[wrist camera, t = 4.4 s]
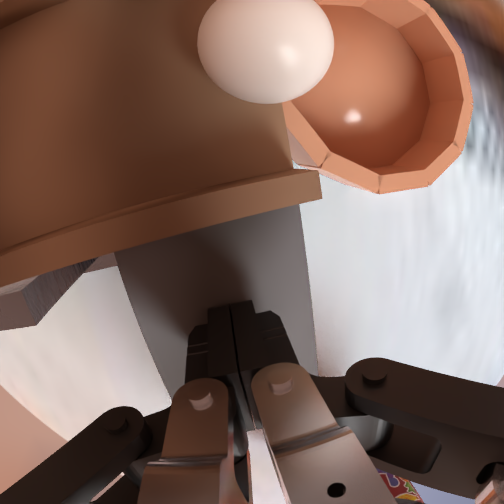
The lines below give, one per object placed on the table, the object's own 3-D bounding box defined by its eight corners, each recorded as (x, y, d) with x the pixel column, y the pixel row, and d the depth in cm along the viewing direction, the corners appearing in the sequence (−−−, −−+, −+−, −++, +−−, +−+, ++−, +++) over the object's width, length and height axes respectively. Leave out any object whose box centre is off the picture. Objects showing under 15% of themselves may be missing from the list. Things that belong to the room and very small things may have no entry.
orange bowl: (410, 7, 13) (442, -10, 9) (442, 171, 16) (480, 178, 13) (234, 0, 12) (240, -33, 9) (273, 197, 16) (289, 210, 12)
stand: (101, 10, 11) (38, -63, 4) (145, 254, 16) (96, 340, 8) (13, 52, 11) (-74, 21, 3) (54, 276, 15) (-22, 352, 8)
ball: (183, -33, 4) (193, 22, 8) (207, 102, 5) (211, 120, 9) (335, -40, 4) (299, 11, 8) (371, 85, 6) (320, 104, 9)
